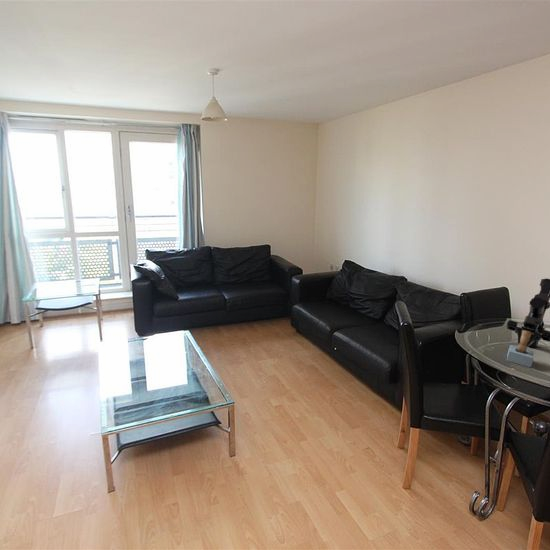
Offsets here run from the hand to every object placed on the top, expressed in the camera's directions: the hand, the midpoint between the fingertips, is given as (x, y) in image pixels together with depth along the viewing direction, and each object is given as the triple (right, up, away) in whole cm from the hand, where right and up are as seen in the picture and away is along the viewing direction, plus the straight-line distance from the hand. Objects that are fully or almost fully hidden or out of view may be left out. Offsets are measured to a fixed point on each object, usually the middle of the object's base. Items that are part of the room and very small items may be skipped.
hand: (522, 344), depth 182 cm
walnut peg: (0, -6, +3) cm, 7 cm away
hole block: (0, -8, +3) cm, 9 cm away
